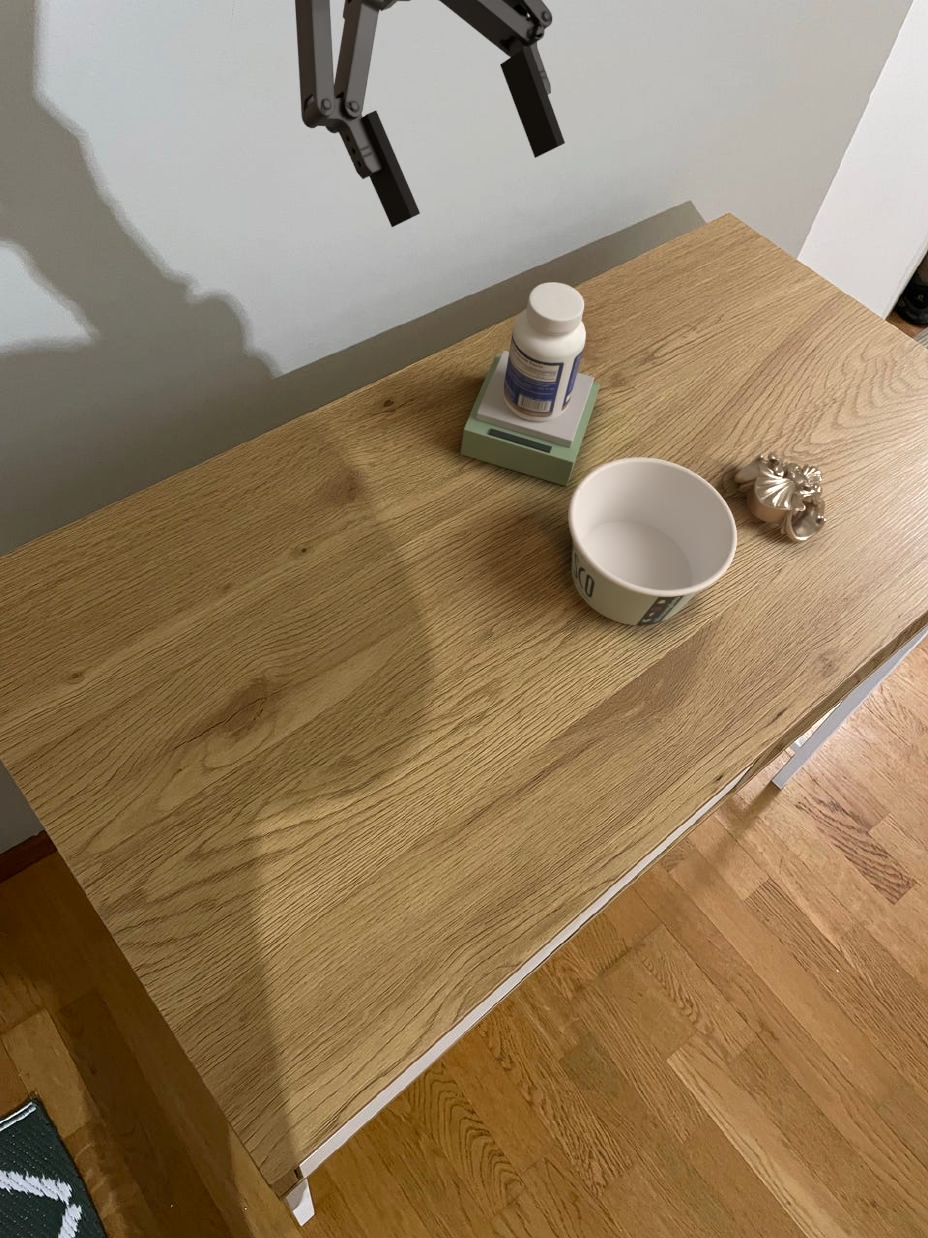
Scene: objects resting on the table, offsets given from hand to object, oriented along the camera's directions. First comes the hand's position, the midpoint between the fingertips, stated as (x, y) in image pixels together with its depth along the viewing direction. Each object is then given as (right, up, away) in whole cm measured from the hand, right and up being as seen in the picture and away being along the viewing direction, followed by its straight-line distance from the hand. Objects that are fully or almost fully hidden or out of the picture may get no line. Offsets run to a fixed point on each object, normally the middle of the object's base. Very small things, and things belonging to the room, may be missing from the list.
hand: (481, 184), depth 65 cm
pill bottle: (+4, -13, +10) cm, 17 cm away
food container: (+11, -27, +6) cm, 30 cm away
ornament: (+24, -21, +11) cm, 34 cm away
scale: (+4, -15, +13) cm, 20 cm away
